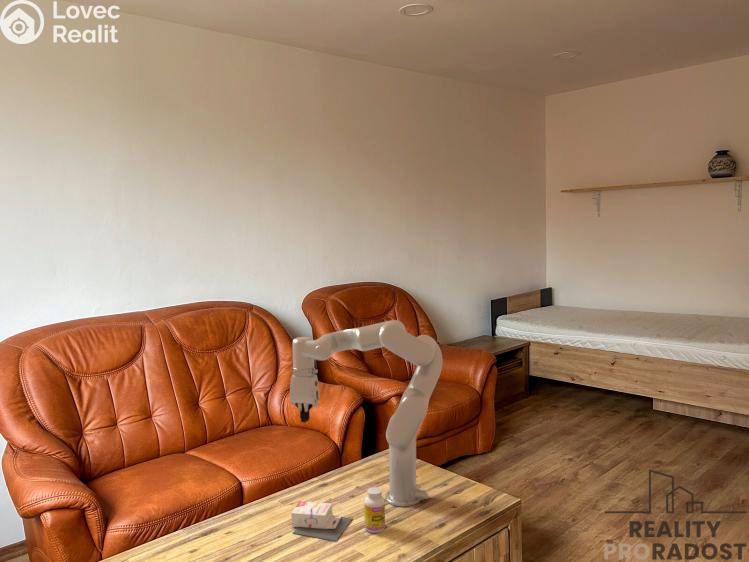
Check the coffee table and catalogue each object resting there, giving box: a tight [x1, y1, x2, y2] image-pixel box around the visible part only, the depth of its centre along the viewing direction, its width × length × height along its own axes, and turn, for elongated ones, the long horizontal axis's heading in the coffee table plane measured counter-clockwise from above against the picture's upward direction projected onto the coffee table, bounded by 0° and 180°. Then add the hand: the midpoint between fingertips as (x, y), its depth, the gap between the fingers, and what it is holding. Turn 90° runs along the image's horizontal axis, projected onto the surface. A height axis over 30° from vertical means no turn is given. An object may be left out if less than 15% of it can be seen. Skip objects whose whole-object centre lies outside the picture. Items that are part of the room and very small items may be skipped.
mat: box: [292, 514, 353, 543], centre depth 187 cm, size 15×14×1 cm
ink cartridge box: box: [290, 500, 342, 529], centre depth 189 cm, size 9×5×15 cm
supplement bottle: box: [363, 486, 386, 534], centre depth 185 cm, size 7×7×13 cm
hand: (304, 421), depth 208 cm, fingers closed
